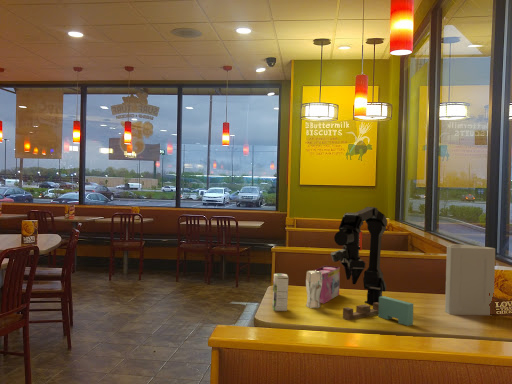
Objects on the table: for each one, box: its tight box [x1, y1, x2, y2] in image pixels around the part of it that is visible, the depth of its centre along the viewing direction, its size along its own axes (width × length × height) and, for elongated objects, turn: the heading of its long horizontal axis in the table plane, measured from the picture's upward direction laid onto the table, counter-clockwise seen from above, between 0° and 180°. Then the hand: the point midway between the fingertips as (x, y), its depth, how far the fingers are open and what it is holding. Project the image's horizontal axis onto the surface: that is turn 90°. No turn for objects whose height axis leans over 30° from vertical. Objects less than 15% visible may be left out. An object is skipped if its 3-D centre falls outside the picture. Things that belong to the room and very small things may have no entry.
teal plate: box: [377, 295, 414, 327], centre depth 175 cm, size 14×3×8 cm, turn 35°
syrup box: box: [271, 273, 289, 312], centre depth 186 cm, size 6×6×14 cm
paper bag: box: [444, 243, 496, 316], centre depth 195 cm, size 19×15×28 cm
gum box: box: [312, 265, 341, 304], centre depth 210 cm, size 24×8×14 cm, turn 153°
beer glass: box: [305, 270, 322, 309], centre depth 193 cm, size 7×7×15 cm
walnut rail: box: [342, 302, 379, 321], centre depth 180 cm, size 20×3×4 cm, turn 125°
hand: (351, 281), depth 182 cm, fingers open, 9 cm apart
